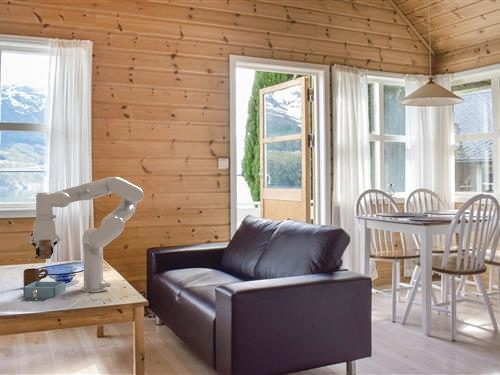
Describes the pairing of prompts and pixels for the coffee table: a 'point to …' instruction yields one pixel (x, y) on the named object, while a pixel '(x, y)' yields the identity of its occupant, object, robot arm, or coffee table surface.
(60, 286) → the bin
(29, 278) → the mug
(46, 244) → the brown cylinder
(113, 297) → the coffee table surface
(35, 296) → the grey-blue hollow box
